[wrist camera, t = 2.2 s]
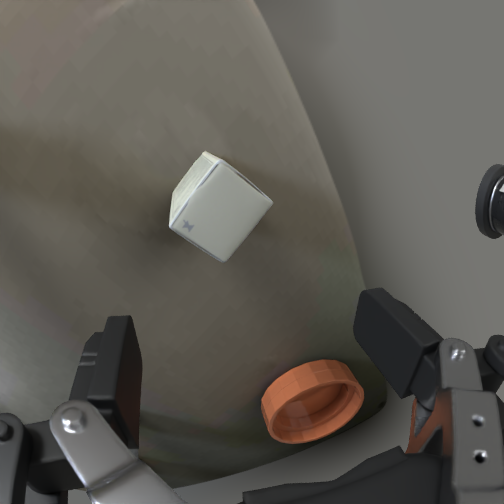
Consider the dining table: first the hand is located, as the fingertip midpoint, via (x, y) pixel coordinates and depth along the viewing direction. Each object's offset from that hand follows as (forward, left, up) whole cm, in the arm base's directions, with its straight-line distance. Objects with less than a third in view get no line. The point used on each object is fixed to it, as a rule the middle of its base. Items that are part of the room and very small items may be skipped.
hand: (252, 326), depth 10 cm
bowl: (-13, +29, -20) cm, 37 cm away
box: (0, -1, -20) cm, 20 cm away
